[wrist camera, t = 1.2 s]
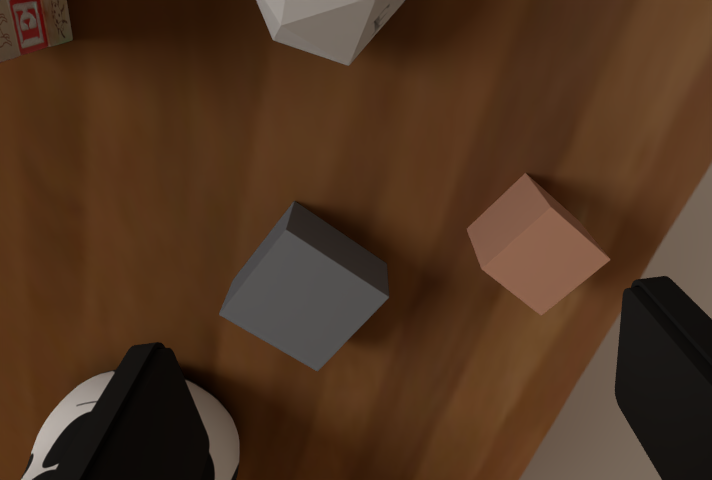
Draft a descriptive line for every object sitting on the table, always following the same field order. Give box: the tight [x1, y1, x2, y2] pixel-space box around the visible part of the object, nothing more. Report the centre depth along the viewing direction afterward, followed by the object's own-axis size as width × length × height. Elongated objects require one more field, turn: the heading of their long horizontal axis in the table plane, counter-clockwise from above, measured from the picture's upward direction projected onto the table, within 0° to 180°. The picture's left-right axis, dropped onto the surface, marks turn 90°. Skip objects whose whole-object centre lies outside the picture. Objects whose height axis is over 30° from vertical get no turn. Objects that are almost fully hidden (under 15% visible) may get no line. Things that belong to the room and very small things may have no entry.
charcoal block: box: [219, 201, 389, 371], centre depth 40 cm, size 9×9×5 cm
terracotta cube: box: [467, 173, 611, 315], centre depth 37 cm, size 6×6×6 cm
